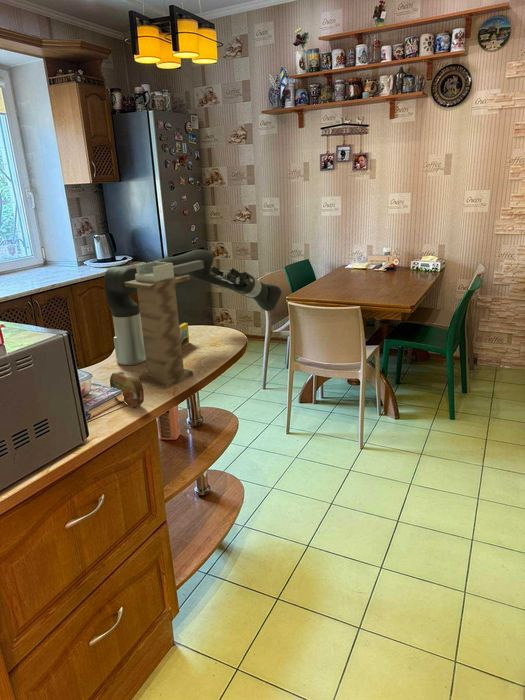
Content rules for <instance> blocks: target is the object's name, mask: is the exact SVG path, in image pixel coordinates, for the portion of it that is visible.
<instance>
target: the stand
mask: <svg viewBox="0 0 525 700" xmlns="http://www.w3.org/2000/svg"><path fill="white" fill-rule="evenodd" d="M190 277H191V276H190V275H189V274H187V275H186V274H185V275H176V276H174V278H173V279H169V280H165V281H161V282H157V283H148V282H141V281H136V280H132V281H128V282H125V286H126V287H133V288H137V293H136V294H137V300H138V305H139V309H140V317H141V324H142V332H143V340H144V347H145V355H146V360H145V362H146V369H147V372H146V373H143V374H141V375H139V377H138V378H139V379H138V380H139V381H140V382H142V381H143V383H146V384H148V383H149V384H150V385H152V386H155V387H158V388H161V389H168V388H171V387H173V386H175V385H177V384H179V383H181V382H183V381H185V380H187V379H189V378H192V377H194V371H193V370H192V369H191V370H190V369H186V368H184V361H183V347H182V348H181V338H180V328H179V325H180V320H179V311H178V302H177V301H178V300H177V299H178V298H177V293H176V292H177V291H176V284H178V283H182V282H186V281H189V280H191V278H190ZM149 384H148V385H149Z"/></svg>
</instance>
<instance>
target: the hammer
mask: <svg viewBox="0 0 525 700" xmlns="http://www.w3.org/2000/svg"><path fill="white" fill-rule="evenodd" d="M155 261H156V260H154V261H151V262H145V263H141V264H136V265H135V268H136V269H137V274H135V278H136V281H141V282H148V283H157V282H161V281H165V280H169V279H173V278H174V276H176V275H180V274H184V273H186V274H188V272H192V271H196V270H200V269H204V265H203V261H200V260H197V261H192V262H188V263H184V264H179V265H175V266H173V263H166V262H155Z"/></svg>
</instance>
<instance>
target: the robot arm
mask: <svg viewBox="0 0 525 700" xmlns="http://www.w3.org/2000/svg"><path fill="white" fill-rule="evenodd" d="M197 260H200V261H203V265H204V269H200V270H196V271H192V272H188V273H184V274H180V275H186V274H187V275H189V276H190V277H192V278H194V279H196V280H199V281H202V282H205V283H209V284H211V285H214V286H218V287H222V288H225V289H228V290H230V291H233V292H236V293H237V294H240V295H242V296H244V297H247V298H249V299H253V300H254V301H255V302H256V304H257V305H258V306H259V307H260V308H261V309H262V310H264V311H265V312H273V311H274V310H275V309H276V306H277V305H278V303H279V301H280V300H279V299H280V298H281V296H282V289H281V287H279V286H278V285H276V284H268V283H263V282H262V281H260V280H259V279H257V278H256V277H255V276H254V275H252V274H250V273H249V272H247V271H243V270H241V271H239V270H237V269H235V268H233V267H230V269H229V270H226V269H225V270H222V269H220V268H218V267H216V266H214V265H213V263H214V255H213V254H212V252H211V251H209V250H206V249H192V250H191V251H188V252H186V253H183V254H179V255H176V256H171V257H170V256H169V257H166V258H165V257H164V258H161V259H156V260H154V261H155V262H166V263H173V266H175V265H179V264H184V263H188V262H192V261H197ZM135 274H137V269H136V267H129V266H128V267H127V266H125V267H124V266H112V267H109V268H108V269H106V271H105V273H104V276H103V287H104V291H105V292H104V293H105V296H106V300H107V305H108V307H109V310H110V311H111V316H112V322H113V328H114V336H113V345H114V350H115V351H114V352H115V357H116V364H118V365H119V364H120V365H123V366H133V365H139V364H142V363H144V362H146V355H145V347H144V340H143V332H142V324H141V317H140V309H139V303H137V302H135V301H134V300H133V299H132V298H131V296H133V295H136V294H137V288H133V287H126V286H125V282H128V281H132V280H136V278H135Z"/></svg>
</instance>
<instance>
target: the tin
mask: <svg viewBox="0 0 525 700" xmlns="http://www.w3.org/2000/svg"><path fill="white" fill-rule="evenodd" d="M109 378H110V379H109V386H110V388H111V387H113V388H117V389H119V390H121V391H122V392H123V396H124V400H125V402H126V403H127V404H128V405H129V406H131V407H133V408H134V409H135V407H138V406H141V405H142V404H143V403H144V402H145V401H144V400H145V394H144V388H143V385H142V383H141V381H140V380H139V379H138V378H136V377H134V376H133V375H130V374H129V373H125V372H124V371H118V372H114V373H112V374H111V375H110V377H109ZM129 406H128V407H129ZM131 407H130V408H131Z"/></svg>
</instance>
